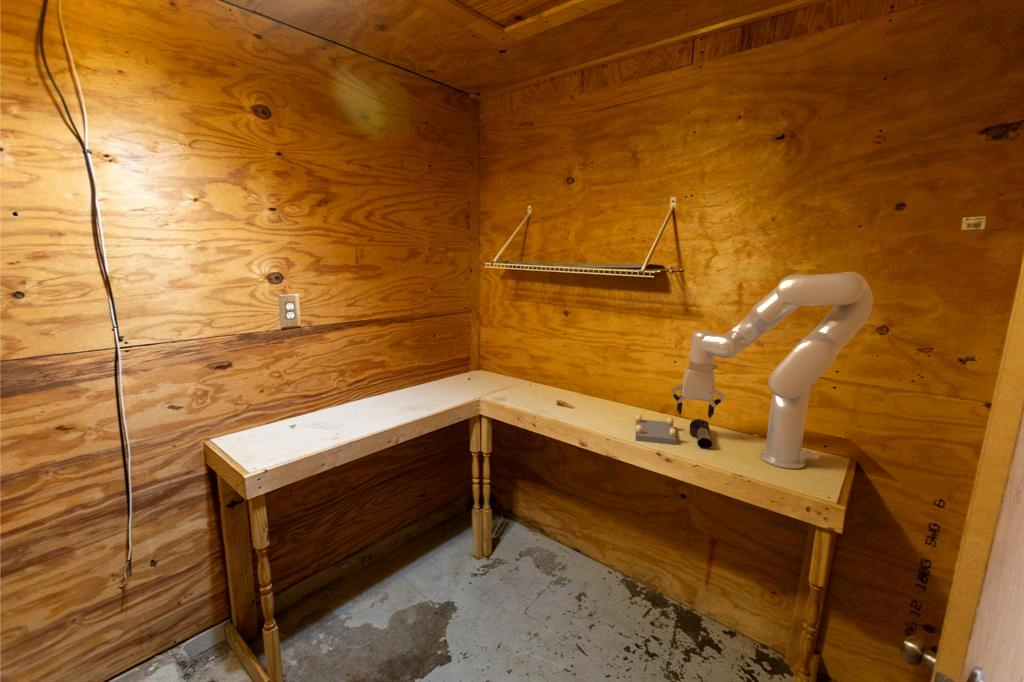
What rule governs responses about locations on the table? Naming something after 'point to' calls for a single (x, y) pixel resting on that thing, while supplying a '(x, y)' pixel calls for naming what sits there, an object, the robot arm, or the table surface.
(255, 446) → the table surface
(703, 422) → the dark elongated piece
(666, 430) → the pipe stand
